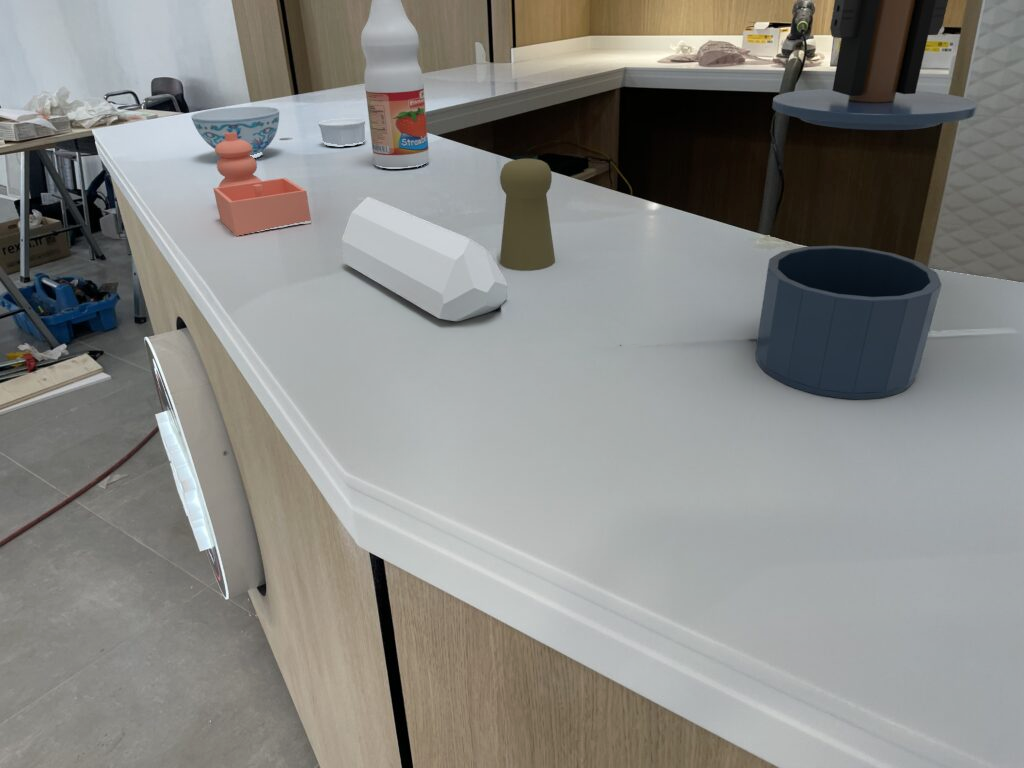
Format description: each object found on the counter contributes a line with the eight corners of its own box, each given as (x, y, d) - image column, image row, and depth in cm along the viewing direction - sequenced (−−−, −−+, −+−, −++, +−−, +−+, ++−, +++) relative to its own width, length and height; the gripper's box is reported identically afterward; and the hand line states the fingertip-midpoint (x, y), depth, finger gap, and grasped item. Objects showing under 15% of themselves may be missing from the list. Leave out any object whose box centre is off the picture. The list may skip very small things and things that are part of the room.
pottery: (311, 223, 94) (298, 144, 90) (236, 236, 90) (219, 154, 86) (272, 195, 108) (259, 126, 103) (206, 205, 104) (189, 133, 99)
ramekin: (317, 143, 145) (313, 120, 143) (361, 138, 148) (358, 116, 146) (327, 150, 138) (323, 126, 136) (372, 145, 141) (370, 122, 139)
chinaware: (220, 169, 125) (210, 122, 121) (188, 157, 135) (178, 113, 131) (300, 156, 134) (293, 111, 130) (264, 145, 144) (257, 104, 140)
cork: (517, 253, 81) (515, 152, 76) (565, 261, 79) (566, 157, 73) (488, 270, 77) (483, 163, 72) (538, 279, 74) (537, 169, 69)
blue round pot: (869, 329, 62) (889, 242, 58) (946, 395, 52) (976, 296, 48) (736, 335, 61) (747, 248, 58) (787, 403, 51) (804, 303, 48)
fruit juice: (389, 158, 130) (370, -22, 117) (438, 160, 127) (424, -24, 114) (364, 169, 122) (341, -22, 109) (416, 171, 119) (398, -25, 106)
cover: (910, 103, 55) (941, -39, 50) (1017, 131, 44) (1069, -46, 39) (746, 108, 54) (763, -34, 50) (813, 138, 43) (843, -40, 39)
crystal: (537, 266, 66) (406, 212, 83) (478, 242, 61) (352, 190, 78) (506, 342, 67) (383, 274, 84) (445, 324, 62) (329, 255, 79)
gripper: (849, -438, 34) (774, 104, 45) (1185, -444, 34) (1028, 95, 45) (788, -369, 40) (736, 89, 51) (1070, -373, 41) (957, 81, 52)
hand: (872, 91), depth 48 cm, fingers closed on cover, 3 cm apart
